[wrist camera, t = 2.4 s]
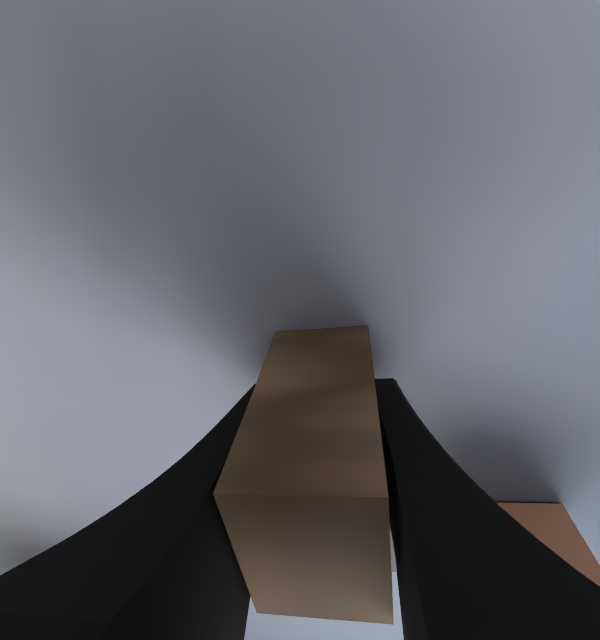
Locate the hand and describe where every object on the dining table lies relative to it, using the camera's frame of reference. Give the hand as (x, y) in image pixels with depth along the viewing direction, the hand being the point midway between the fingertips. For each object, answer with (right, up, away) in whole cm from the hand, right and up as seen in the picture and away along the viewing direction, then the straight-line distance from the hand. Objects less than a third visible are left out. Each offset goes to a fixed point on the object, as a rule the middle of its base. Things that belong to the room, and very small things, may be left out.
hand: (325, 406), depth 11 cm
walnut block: (0, +1, +1) cm, 1 cm away
